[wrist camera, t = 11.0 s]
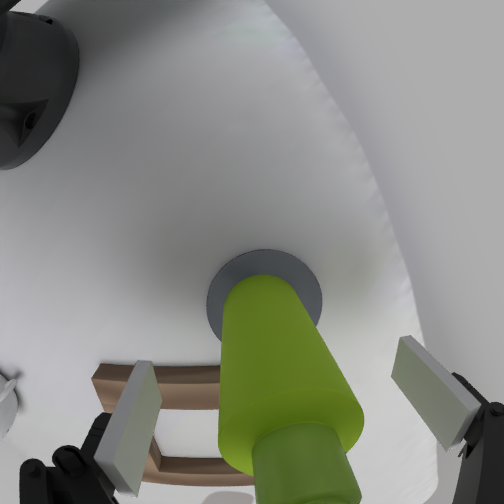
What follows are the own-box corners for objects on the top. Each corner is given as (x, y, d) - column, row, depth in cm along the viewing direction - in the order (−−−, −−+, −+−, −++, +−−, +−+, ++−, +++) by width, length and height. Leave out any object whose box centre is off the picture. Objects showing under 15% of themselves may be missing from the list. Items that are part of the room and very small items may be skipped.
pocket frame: (100, 363, 23) (91, 378, 21) (283, 361, 24) (288, 378, 22) (145, 467, 27) (142, 481, 25) (281, 467, 28) (284, 482, 26)
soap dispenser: (231, 255, 21) (243, 593, 2) (313, 293, 22) (472, 531, 3) (198, 321, 22) (153, 600, 3) (276, 353, 23) (343, 596, 4)
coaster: (201, 253, 22) (200, 255, 21) (321, 246, 22) (323, 248, 21) (213, 356, 24) (212, 360, 23) (317, 348, 24) (319, 351, 23)
